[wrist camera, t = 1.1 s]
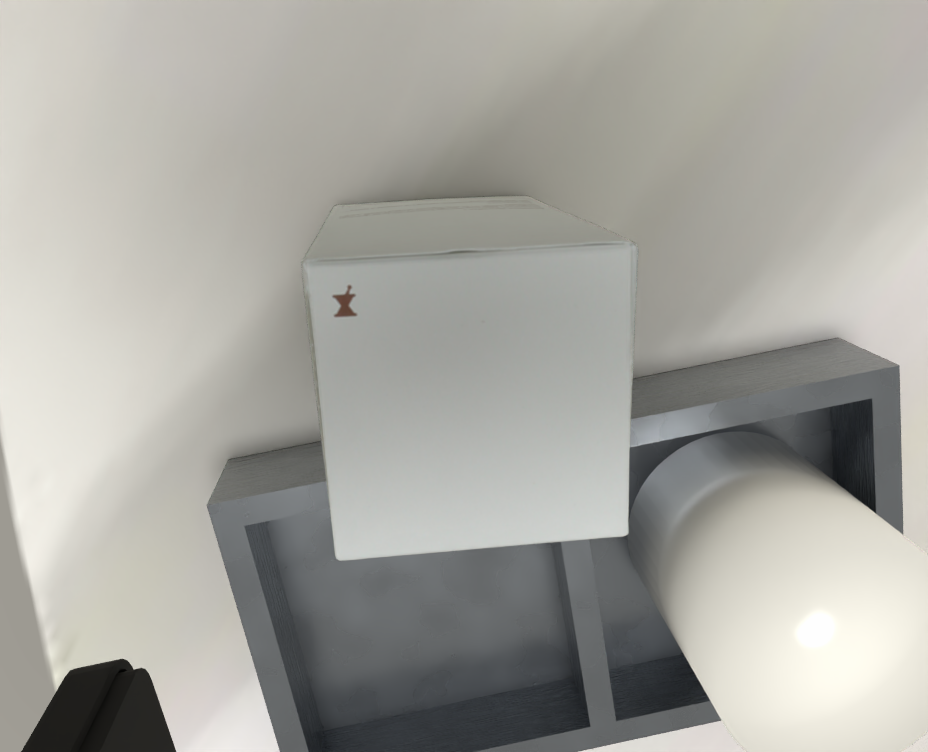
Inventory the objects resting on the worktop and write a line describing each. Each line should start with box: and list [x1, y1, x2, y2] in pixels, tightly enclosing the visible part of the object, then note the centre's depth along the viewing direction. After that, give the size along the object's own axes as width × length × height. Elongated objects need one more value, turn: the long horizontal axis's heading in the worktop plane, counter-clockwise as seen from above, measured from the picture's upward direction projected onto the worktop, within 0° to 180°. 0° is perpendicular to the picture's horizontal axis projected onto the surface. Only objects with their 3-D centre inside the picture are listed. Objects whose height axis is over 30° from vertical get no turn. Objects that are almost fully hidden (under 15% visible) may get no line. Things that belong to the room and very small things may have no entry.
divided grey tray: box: [207, 338, 903, 752], centre depth 32 cm, size 13×24×4 cm, turn 100°
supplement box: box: [301, 196, 638, 561], centre depth 25 cm, size 7×7×13 cm
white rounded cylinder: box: [627, 431, 928, 752], centre depth 29 cm, size 8×8×9 cm
